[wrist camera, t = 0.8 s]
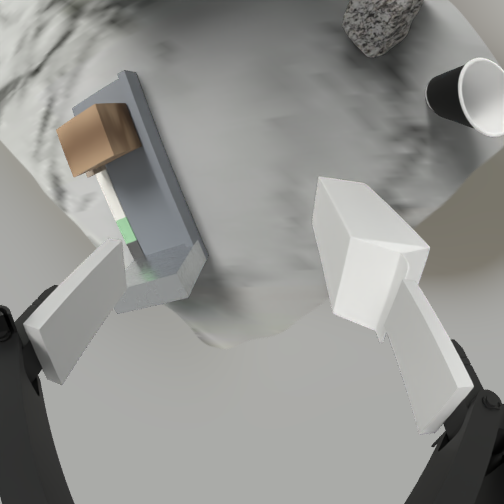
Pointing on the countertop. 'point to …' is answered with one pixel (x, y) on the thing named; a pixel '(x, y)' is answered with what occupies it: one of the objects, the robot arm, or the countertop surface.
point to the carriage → (98, 137)
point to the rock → (379, 23)
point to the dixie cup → (470, 96)
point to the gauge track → (143, 179)
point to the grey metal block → (161, 277)
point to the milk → (363, 251)
